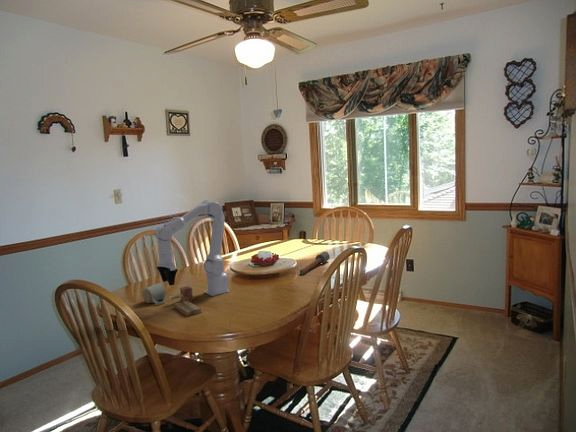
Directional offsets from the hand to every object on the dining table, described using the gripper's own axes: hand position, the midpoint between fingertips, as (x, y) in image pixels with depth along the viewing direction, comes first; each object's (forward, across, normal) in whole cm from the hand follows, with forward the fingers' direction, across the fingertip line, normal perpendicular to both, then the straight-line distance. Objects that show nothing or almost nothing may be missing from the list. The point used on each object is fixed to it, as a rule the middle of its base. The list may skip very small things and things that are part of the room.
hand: (168, 283), depth 193 cm
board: (+10, +13, +3) cm, 16 cm away
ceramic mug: (+10, -8, -3) cm, 13 cm away
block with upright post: (+10, +1, +5) cm, 11 cm away
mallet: (+11, 0, +84) cm, 85 cm away
